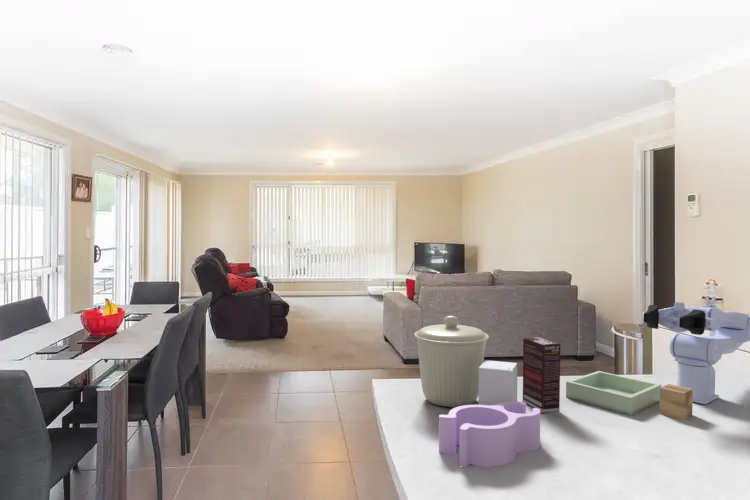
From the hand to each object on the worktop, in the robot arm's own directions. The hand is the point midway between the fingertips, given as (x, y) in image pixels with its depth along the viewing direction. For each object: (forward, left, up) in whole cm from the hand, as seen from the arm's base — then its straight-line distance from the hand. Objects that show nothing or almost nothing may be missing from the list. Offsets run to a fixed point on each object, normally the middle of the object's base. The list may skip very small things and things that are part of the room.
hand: (662, 319), depth 114 cm
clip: (+45, -12, -22) cm, 51 cm away
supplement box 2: (+17, -20, -22) cm, 34 cm away
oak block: (-3, +2, -22) cm, 22 cm away
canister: (+31, -36, -22) cm, 52 cm away
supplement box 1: (+33, -20, -22) cm, 44 cm away
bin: (-2, -12, -22) cm, 25 cm away
